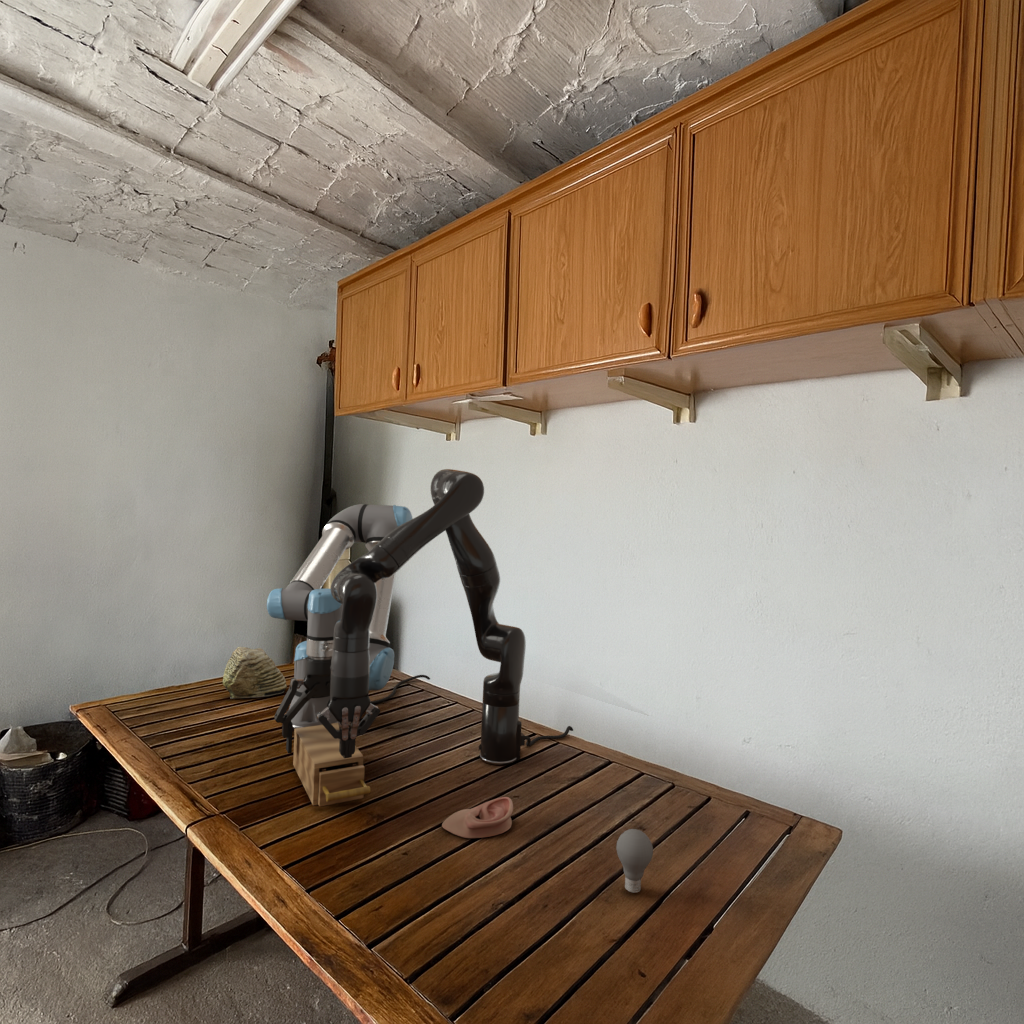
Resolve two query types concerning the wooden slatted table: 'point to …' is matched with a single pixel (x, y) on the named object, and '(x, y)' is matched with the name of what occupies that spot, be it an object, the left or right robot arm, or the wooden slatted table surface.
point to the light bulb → (634, 857)
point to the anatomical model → (481, 819)
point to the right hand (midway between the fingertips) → (346, 756)
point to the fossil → (252, 674)
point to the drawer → (341, 784)
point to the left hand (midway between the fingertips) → (319, 746)
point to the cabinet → (317, 756)
